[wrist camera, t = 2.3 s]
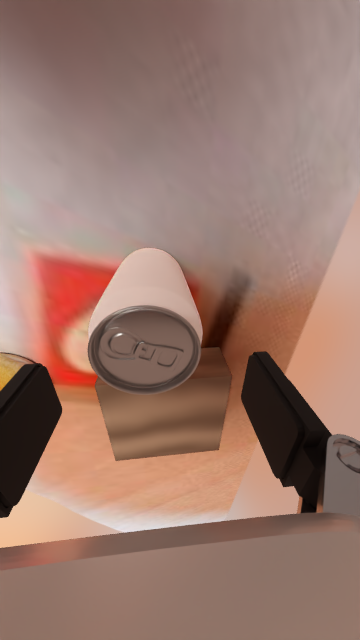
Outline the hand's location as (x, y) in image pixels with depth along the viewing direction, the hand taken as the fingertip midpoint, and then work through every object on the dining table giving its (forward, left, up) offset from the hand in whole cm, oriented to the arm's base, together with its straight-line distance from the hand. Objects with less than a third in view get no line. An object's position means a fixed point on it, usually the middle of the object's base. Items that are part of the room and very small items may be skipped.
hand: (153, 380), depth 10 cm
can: (-1, 0, -13) cm, 13 cm away
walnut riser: (+15, +1, -13) cm, 20 cm away
